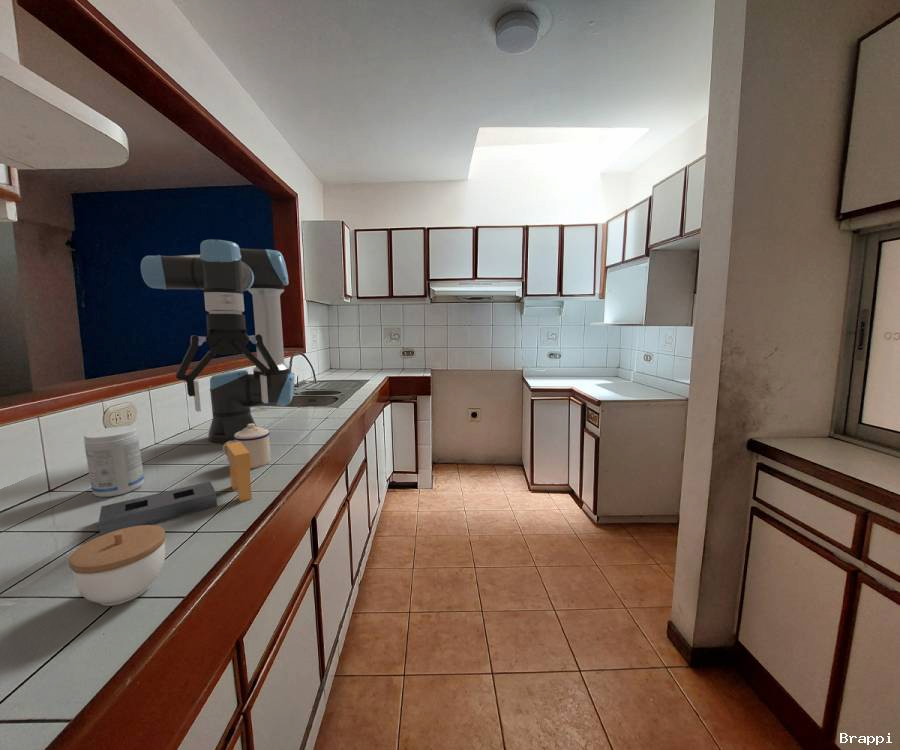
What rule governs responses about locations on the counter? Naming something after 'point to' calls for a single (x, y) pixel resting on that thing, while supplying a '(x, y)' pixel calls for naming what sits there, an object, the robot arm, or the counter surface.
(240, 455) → the orange clip
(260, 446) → the teacup with lid
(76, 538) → the counter surface
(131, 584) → the lidded jar
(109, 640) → the counter surface
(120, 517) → the graphite rail
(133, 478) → the supplement tub
